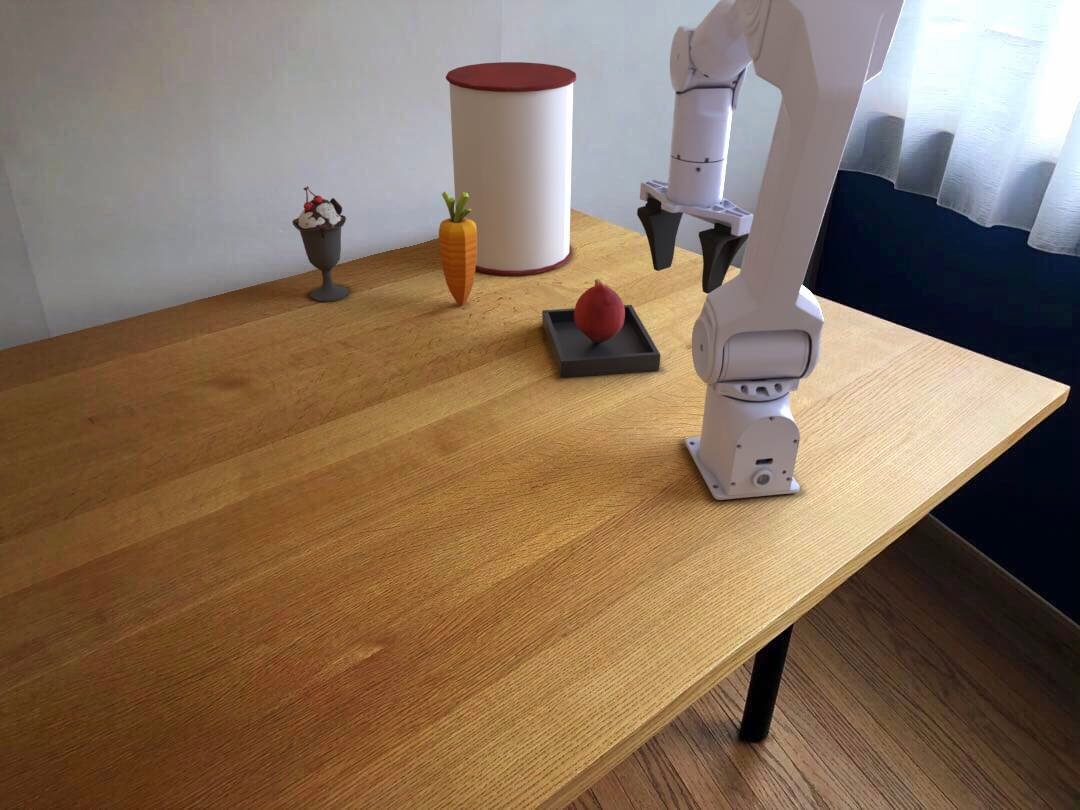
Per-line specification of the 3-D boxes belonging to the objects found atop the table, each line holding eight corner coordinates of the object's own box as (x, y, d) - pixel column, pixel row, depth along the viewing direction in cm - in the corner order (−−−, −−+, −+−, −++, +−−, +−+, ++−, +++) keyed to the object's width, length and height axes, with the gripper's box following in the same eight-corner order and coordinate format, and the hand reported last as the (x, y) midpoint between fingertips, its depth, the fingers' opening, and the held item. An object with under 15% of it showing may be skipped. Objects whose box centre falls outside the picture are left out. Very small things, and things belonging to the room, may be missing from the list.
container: (581, 272, 120) (587, 85, 107) (458, 279, 118) (448, 89, 105) (562, 230, 135) (565, 60, 122) (451, 234, 133) (443, 63, 120)
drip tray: (659, 370, 96) (660, 354, 95) (560, 378, 95) (561, 361, 94) (630, 319, 107) (631, 304, 106) (542, 325, 106) (542, 310, 105)
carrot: (436, 301, 112) (429, 187, 104) (472, 294, 114) (467, 182, 106) (449, 316, 108) (443, 199, 100) (486, 309, 110) (482, 194, 102)
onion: (623, 333, 103) (627, 270, 99) (622, 355, 98) (626, 291, 94) (574, 330, 103) (576, 268, 99) (571, 353, 99) (573, 288, 94)
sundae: (304, 307, 110) (287, 192, 102) (302, 286, 116) (285, 176, 108) (356, 301, 112) (343, 188, 104) (352, 281, 117) (339, 172, 109)
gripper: (621, 145, 91) (615, 266, 98) (724, 179, 81) (708, 311, 88) (670, 136, 94) (661, 253, 101) (774, 166, 84) (755, 294, 91)
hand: (686, 279), depth 95 cm, fingers open, 7 cm apart
